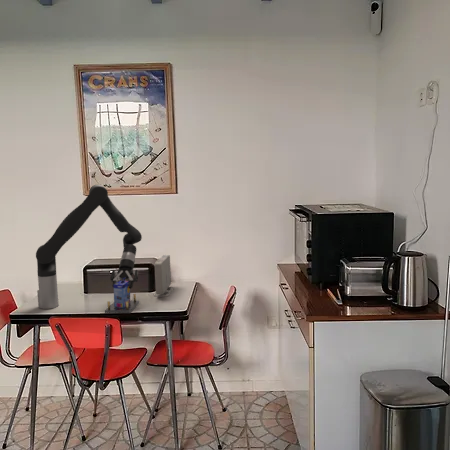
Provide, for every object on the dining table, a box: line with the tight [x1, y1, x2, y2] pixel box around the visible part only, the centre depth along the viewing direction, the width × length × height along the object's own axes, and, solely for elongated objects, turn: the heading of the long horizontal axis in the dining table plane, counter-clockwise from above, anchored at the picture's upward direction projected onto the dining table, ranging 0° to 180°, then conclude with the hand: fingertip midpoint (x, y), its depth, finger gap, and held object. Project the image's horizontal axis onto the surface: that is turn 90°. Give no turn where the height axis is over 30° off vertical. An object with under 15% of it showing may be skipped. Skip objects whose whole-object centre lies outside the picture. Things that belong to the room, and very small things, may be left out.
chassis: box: [104, 293, 140, 314], centre depth 230 cm, size 13×17×6 cm
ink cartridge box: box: [113, 277, 131, 308], centre depth 230 cm, size 10×6×14 cm, turn 170°
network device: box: [153, 254, 174, 298], centre depth 259 cm, size 26×9×20 cm, turn 176°
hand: (122, 288), depth 230 cm, fingers open, 8 cm apart
